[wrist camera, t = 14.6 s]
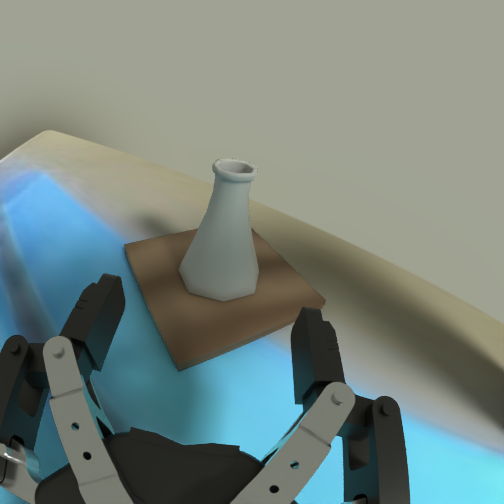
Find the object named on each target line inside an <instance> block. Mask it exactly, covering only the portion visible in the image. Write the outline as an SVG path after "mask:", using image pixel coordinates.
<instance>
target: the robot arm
mask: <svg viewBox="0 0 504 504" xmlns="http://www.w3.org/2000/svg"><path fill="white" fill-rule="evenodd" d="M124 309H125V297H124V292H123V287H122V281H121V278H120V277H119V276H115V275H110V274H103V275H102V276H101V278H100V280H99V282H98V283H97V284H96V283H92V284H90V285H89V286H88V287H87V288H86V289H84V291H83V292H82V294H81V296H80V298H79V301H77V303H76V305H75V308H73V310H72V312H71V314H70V316H69V317H68V319H67V321H66V323H65V325H64V327H63V329H62V331H61V333H60V334H59V336H55V337H52V338H51V339H49V340H48V341H47V342H46V343H43V344H41V343H28V342H27V340H26V339H25V338H24V337H23V336H21V335H14V336H11V337H10V338H8V339H7V341H6V342H5V344H4V346H3V348H2V350H1V352H0V486H1V487H3V488H5V489H6V490H8V491H10V492H11V493H13V494H14V495H16V496H18V497H19V498H21V499H23V500H25V501H26V502H28V503H30V504H298V503H297V502H296V501H295V500H294V499H295V497H296V496H297V495H298V494H299V492H300V491H301V490H302V489H303V487H304V486H305V485H306V484H307V482H308V481H309V480H310V478H311V477H312V476H313V474H314V473H315V472H316V470H317V469H318V468H319V466H320V465H321V463H322V462H323V460H324V459H325V458H326V456H327V455H328V453H329V451H330V449H331V442H332V440H333V439H334V437H335V436H340V437H342V442H343V469H344V502H343V503H341V504H410V489H409V475H408V465H407V455H406V447H405V439H404V432H403V426H402V420H401V414H400V408H399V406H398V404H397V402H396V401H395V400H394V399H393V398H391V397H388V396H381V397H379V398H377V399H376V400H371V399H368V398H364V397H361V396H358V395H356V394H354V392H353V390H352V389H351V388H350V387H349V386H348V385H346V382H345V379H344V373H343V368H342V362H341V357H340V352H339V347H338V343H337V337H336V332H335V330H334V328H333V327H332V325H331V324H330V322H329V321H323V319H322V314H321V310H320V309H319V308H310V307H302V309H301V311H300V313H299V315H298V317H297V319H296V321H295V324H294V326H293V328H292V332H291V351H292V365H293V380H294V396H295V404H303V412H302V413H301V414H300V416H299V417H298V418H297V419H296V421H295V422H294V423H293V425H292V426H291V427H290V428H289V429H288V431H287V432H286V433H285V434H284V436H283V437H282V438H281V439H280V440H279V441H278V443H277V444H276V445H275V446H274V447H273V448H272V449H271V450H270V451H269V452H268V453H267V454H266V455H265V456H264V457H263V459H262V460H261V461H259V460H258V459H256V458H255V457H253V456H252V455H250V454H248V453H245V452H243V451H240V450H239V447H240V446H236V445H225V444H216V443H208V444H197V445H182V444H179V443H177V442H174V441H172V440H170V439H168V438H166V437H163V436H161V435H159V434H157V433H153V432H149V431H145V430H141V429H137V428H133V427H131V430H130V432H120V433H116V434H115V432H114V430H113V428H112V426H111V424H110V422H109V420H108V419H107V417H106V415H105V413H104V411H103V409H102V406H101V404H100V401H99V399H98V396H97V393H96V391H95V388H94V385H93V382H92V379H91V377H90V375H91V373H92V370H97V371H100V372H101V369H102V366H103V363H104V360H105V358H106V355H107V352H108V350H109V347H110V345H111V342H112V339H113V337H114V334H115V332H116V329H117V327H118V325H119V322H120V320H121V317H122V315H123V312H124ZM49 389H51V393H52V398H50V399H49V403H50V407H51V411H52V414H53V418H54V421H55V424H56V427H57V430H58V433H59V436H60V439H61V442H62V445H63V447H64V450H65V453H66V455H67V458H68V460H69V462H70V463H68V464H67V465H65V466H64V467H62V468H61V469H59V470H57V471H56V472H54V473H53V474H51V475H50V476H48V477H47V478H45V479H43V480H42V478H41V476H40V474H39V469H40V465H39V462H38V459H37V456H36V455H35V453H34V452H33V451H34V446H35V441H36V437H37V432H38V428H39V424H40V420H41V417H42V413H43V409H44V406H45V402H46V399H47V396H48V392H49Z"/></svg>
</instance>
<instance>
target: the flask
mask: <svg viewBox="0 0 504 504" xmlns="http://www.w3.org/2000/svg"><path fill="white" fill-rule="evenodd" d="M212 170H213V172H214V173H215V183H214V189H213V193H212V196H211V199H210V202H209V205H208V209H207V212H206V214H205V216H204V218H203V220H202V222H201V224H200V226H199V228H198V231H197V233H196V235H195V237H194V239H193V241H192V243H191V245H190V247H189V249H188V251H187V253H186V255H185V257H184V259H183V261H182V263H181V265H180V267H179V269H178V270H179V272H180V274H181V277H182V279H183V281H184V283H185V286H186V288H187V290H188V292H189V293H192V294H196V295H200V296H203V297H207V298H211V299H215V300H219V301H227V300H231V299H235V298H239V297H243V296H247V295H251V294H255V290H256V285H257V280H258V275H259V268H258V262H257V257H256V253H255V248H254V243H253V237H252V231H251V224H250V218H249V191H250V185H251V181H253V180H254V178H255V176H256V173H257V170H258V168H256V167H255V166H254V165H252V164H251V163H250V162H246V161H241V160H236V159H217V160H216V161H215V163H213V166H212Z"/></svg>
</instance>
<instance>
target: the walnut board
mask: <svg viewBox="0 0 504 504" xmlns="http://www.w3.org/2000/svg"><path fill="white" fill-rule="evenodd" d="M197 231H198V229H195V230H190V231H185V232H180V233H175V234H170V235H166V236H161V237H156V238H152V239H147V240H142V241H138V242H133V243H129V244H124V246H125V253H126V256H127V259H128V261H129V264H130V267H131V269H132V272H133V274H134V277H135V279H136V282H137V284H138V287H139V289H140V291H141V294H142V296H143V298H144V301H145V303H146V305H147V308H148V310H149V312H150V314H151V317H152V319H153V321H154V323H155V325H156V327H157V330H158V332H159V334H160V336H161V338H162V340H163V342H164V344H165V346H166V348H167V350H168V352H169V354H170V356H171V358H172V360H173V362H174V364H175V365H176V367H177V369H178V371H181V370H183V369H186V368H189V367H191V366H194V365H197V364H199V363H202V362H204V361H207V360H209V359H212V358H214V357H217V356H219V355H222V354H224V353H226V352H229V351H231V350H234V349H236V348H238V347H241V346H243V345H245V344H248V343H250V342H252V341H254V340H257V339H259V338H261V337H263V336H265V335H268V334H270V333H272V332H274V331H276V330H278V329H281V328H283V327H285V326H287V325H289V324H291V323H293V322H295V321H296V319H297V317H298V315H299V313H300V311H301V309H302V307H310V308H319V309H321V308H322V307H323V305H324V303H325V301H326V300H325V299H324V298H323V297H322V296H321V295H320V294H319V293H318V292H317V291H316V290H315V289H314V288H313V287H312V286H311V285H310V284H309V283H308V282H307V281H305V280H304V279H303V278H302V277H301V276H300V275H299V274H298V273H297V272H296V271H295V270H294V269H293V268H292V267H291V266H290V265H289V264H288V263H287V262H286V261H285V260H284V259H283V258H282V257H281V256H280V255H279V254H278V253H277V252H276V251H275V250H274V249H273V248H272V247H271V246H270V245H269V244H268V243H267V242H266V241H265V240H263V239H262V238H261V237H260V236H259V235H258V234H257V233H256V232H255V231H254V230H253V229H252V228H251V231H252V237H253V243H254V248H255V253H256V257H257V262H258V268H259V275H258V280H257V285H256V290H255V294H251V295H247V296H243V297H239V298H235V299H231V300H227V301H219V300H215V299H211V298H207V297H203V296H200V295H196V294H192V293H189V292H188V290H187V288H186V286H185V283H184V281H183V279H182V277H181V274H180V272H179V270H178V269H179V267H180V265H181V263H182V261H183V259H184V257H185V255H186V253H187V251H188V249H189V247H190V245H191V243H192V241H193V239H194V237H195V235H196V233H197Z"/></svg>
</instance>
